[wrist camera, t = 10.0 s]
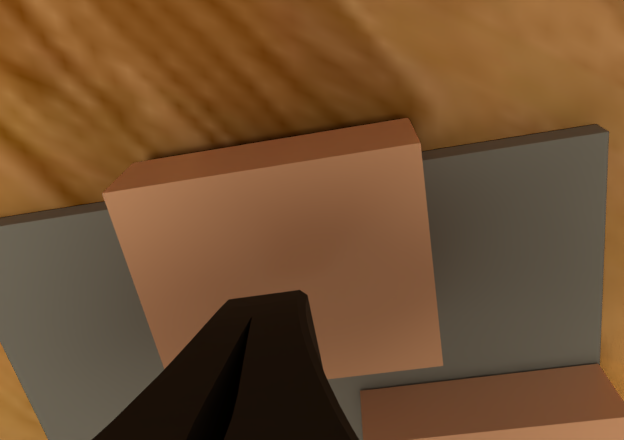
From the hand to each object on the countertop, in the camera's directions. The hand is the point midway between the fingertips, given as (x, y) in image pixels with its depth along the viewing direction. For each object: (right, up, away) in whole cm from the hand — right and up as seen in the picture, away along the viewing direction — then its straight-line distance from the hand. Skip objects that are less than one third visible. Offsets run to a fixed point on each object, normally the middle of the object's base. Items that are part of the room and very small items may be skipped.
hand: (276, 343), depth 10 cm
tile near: (-3, +1, +3) cm, 4 cm away
